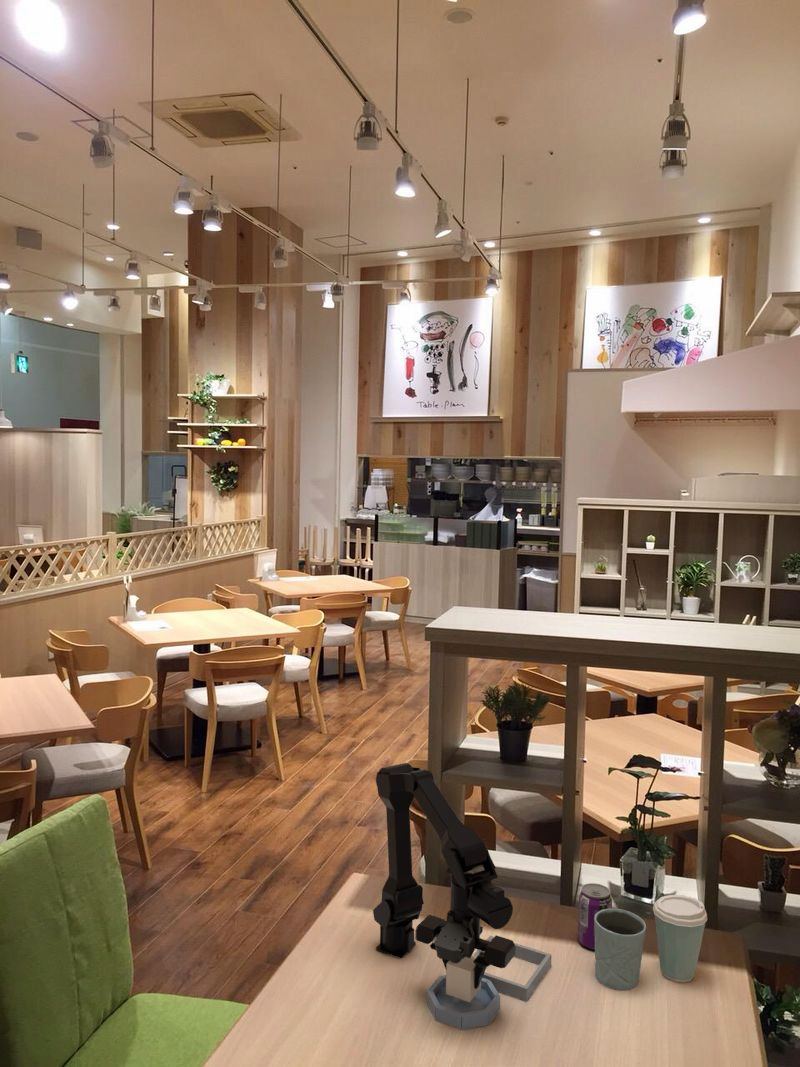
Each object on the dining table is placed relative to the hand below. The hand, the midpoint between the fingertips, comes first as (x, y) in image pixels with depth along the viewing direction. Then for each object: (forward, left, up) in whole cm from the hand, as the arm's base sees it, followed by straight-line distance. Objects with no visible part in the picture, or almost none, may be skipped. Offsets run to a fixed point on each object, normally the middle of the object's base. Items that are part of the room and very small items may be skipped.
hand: (463, 983), depth 160 cm
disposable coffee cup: (+33, +32, -5) cm, 47 cm away
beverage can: (+15, +34, -5) cm, 38 cm away
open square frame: (+3, +14, -4) cm, 15 cm away
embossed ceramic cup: (+23, +24, -5) cm, 34 cm away
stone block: (0, 0, -2) cm, 2 cm away
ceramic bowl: (0, 0, -4) cm, 5 cm away
